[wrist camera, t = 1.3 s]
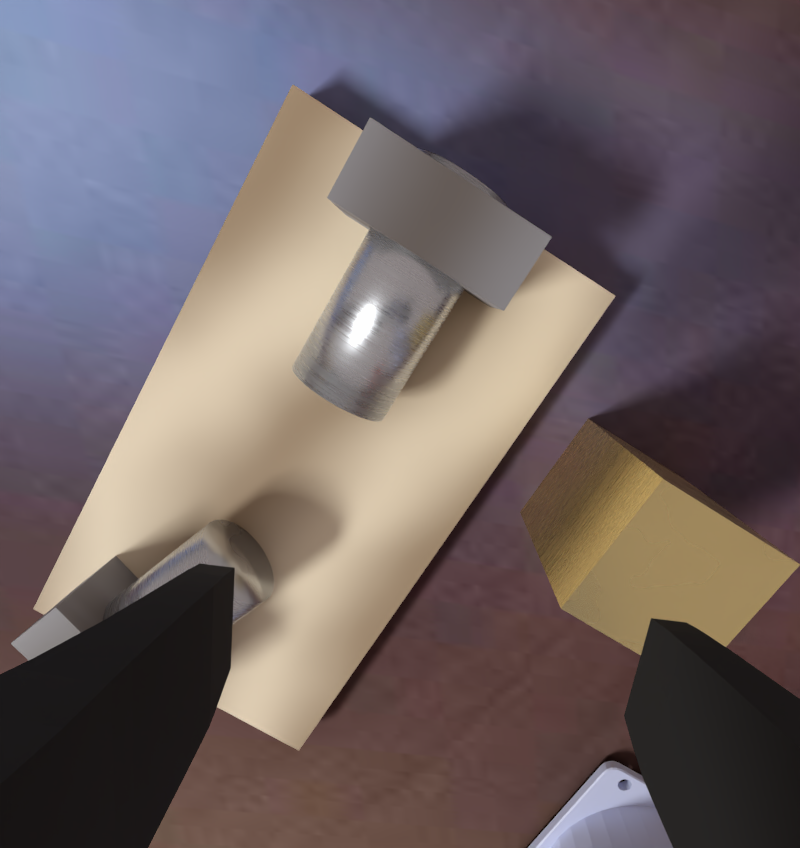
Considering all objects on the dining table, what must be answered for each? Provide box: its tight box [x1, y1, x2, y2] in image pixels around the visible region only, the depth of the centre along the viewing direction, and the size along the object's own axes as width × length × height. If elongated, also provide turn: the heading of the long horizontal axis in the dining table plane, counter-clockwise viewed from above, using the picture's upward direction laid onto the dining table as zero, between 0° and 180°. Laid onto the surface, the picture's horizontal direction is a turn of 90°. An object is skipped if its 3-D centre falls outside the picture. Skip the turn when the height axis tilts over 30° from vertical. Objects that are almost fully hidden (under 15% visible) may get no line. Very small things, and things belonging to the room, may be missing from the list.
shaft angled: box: [103, 520, 274, 624], centre depth 18 cm, size 6×3×3 cm, turn 129°
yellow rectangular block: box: [520, 419, 800, 655], centre depth 16 cm, size 4×4×6 cm
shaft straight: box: [292, 149, 509, 422], centre depth 15 cm, size 6×3×3 cm, turn 149°
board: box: [11, 85, 615, 750], centre depth 17 cm, size 11×20×4 cm, turn 149°
